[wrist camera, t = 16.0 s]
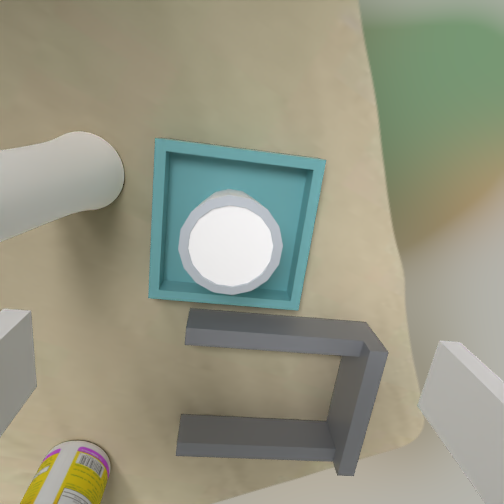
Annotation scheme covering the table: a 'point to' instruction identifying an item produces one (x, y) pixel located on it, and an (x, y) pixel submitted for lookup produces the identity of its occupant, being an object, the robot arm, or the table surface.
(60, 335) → the table surface
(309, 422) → the bay
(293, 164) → the tray
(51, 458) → the supplement bottle
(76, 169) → the cosmetic bottle
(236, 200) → the shot glass
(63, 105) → the table surface
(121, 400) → the table surface
